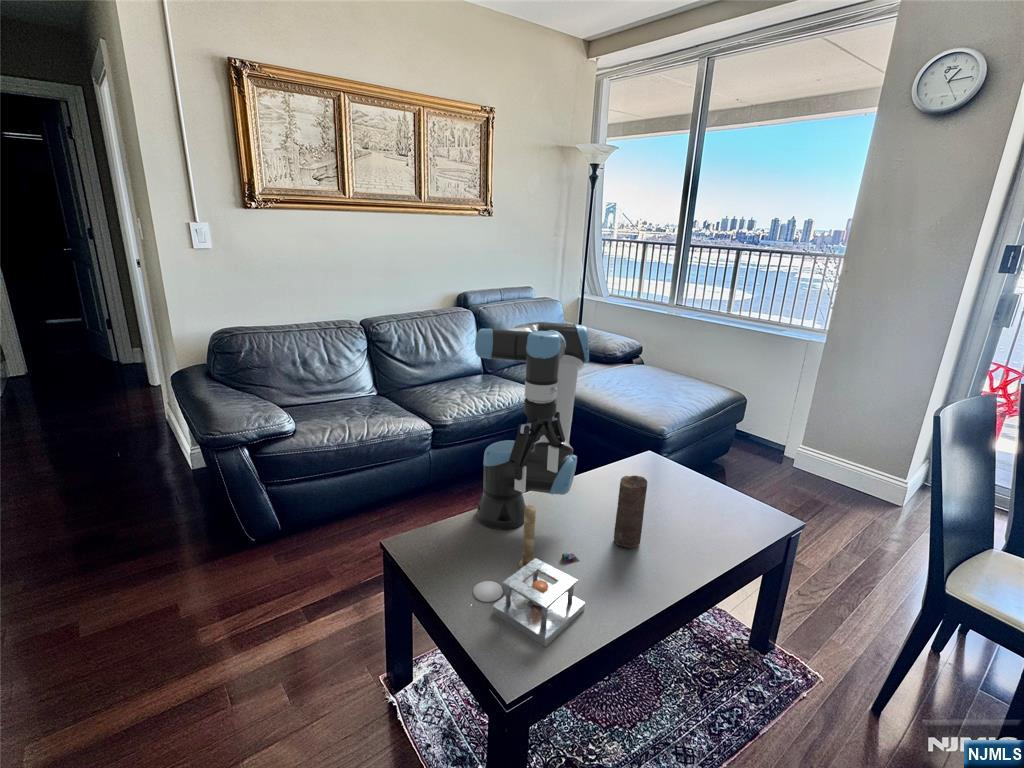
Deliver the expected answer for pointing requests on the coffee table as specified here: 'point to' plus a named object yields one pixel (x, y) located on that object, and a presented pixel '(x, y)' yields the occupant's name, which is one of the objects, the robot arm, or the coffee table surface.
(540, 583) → the breaker button
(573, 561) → the multicolour small angular block
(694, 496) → the coffee table surface
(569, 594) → the grey square frame
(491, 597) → the coaster
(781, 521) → the coffee table surface
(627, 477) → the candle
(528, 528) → the turned wooden spindle
